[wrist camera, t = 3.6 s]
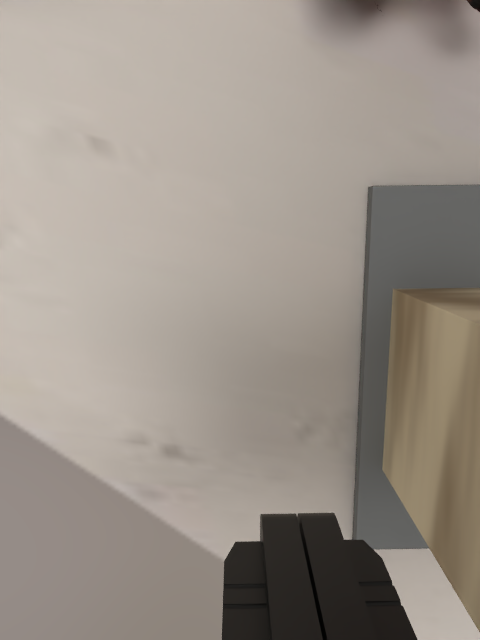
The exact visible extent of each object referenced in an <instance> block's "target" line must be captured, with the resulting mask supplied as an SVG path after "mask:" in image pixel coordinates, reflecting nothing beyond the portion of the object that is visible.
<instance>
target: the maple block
mask: <svg viewBox="0 0 480 640" xmlns="http://www.w3.org/2000/svg"><path fill="white" fill-rule="evenodd" d="M382 470H383V472H384V473H385V475H386V477H387V478H388V480H389V482H390V483H391V485H392V487H393V488H394V490H395V492H396V493H397V495H398V497H399V498H400V500H401V502H402V503H403V505H404V507H405V508H406V510H407V512H408V513H409V515H410V517H411V518H412V520H413V522H414V523H415V525H416V527H417V528H418V530H419V532H420V533H421V535H422V537H423V538H424V540H425V542H426V543H427V545H428V547H429V548H430V550H431V552H432V553H433V555H434V557H435V558H436V560H437V562H438V563H439V565H440V567H441V568H442V570H443V572H444V573H445V575H446V577H447V578H448V580H449V582H450V583H451V585H452V587H453V588H454V590H455V592H456V593H457V595H458V597H459V598H460V600H461V602H462V603H463V605H464V607H465V608H466V610H467V612H468V613H469V615H470V617H471V618H472V620H473V622H474V623H475V625H476V627H477V628H478V630H479V632H480V288H423V289H393V296H392V313H391V330H390V347H389V364H388V381H387V399H386V416H385V433H384V450H383V467H382Z"/></svg>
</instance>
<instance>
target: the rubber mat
mask: <svg viewBox="0 0 480 640" xmlns="http://www.w3.org/2000/svg"><path fill="white" fill-rule="evenodd" d="M423 288H480V185H415V186H371V187H368V209H367V231H366V254H365V276H364V298H363V320H362V343H361V365H360V387H359V409H358V432H357V454H356V476H355V498H354V521H353V540H364V541H365V542H366V543H367V544H368V545H369V546H370V547H371V548H372V549H422V548H429V547H428V545H427V543H426V542H425V540H424V538H423V537H422V535H421V533H420V532H419V530H418V528H417V527H416V525H415V523H414V522H413V520H412V518H411V517H410V515H409V513H408V512H407V510H406V508H405V507H404V505H403V503H402V502H401V500H400V498H399V497H398V495H397V493H396V492H395V490H394V488H393V487H392V485H391V483H390V482H389V480H388V478H387V477H386V475H385V473H384V472H383V470H382V467H383V450H384V433H385V416H386V399H387V381H388V364H389V347H390V330H391V313H392V296H393V289H423Z"/></svg>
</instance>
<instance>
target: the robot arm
mask: <svg viewBox="0 0 480 640" xmlns="http://www.w3.org/2000/svg"><path fill="white" fill-rule="evenodd" d="M222 640H417V637H416V635H415V633H414V631H413V628H412V626H411V624H410V621H409V619H408V617H407V615H406V612H405V610H404V608H403V606H401V602H400V599H399V596H398V594H397V592H396V589H395V587H394V586H393V585H392V580H391V578H390V576H389V573H388V571H387V569H386V567H385V564H384V562H383V560H382V558H381V557H380V556H379V555H378V554H377V553H376V552H375V551H374V550H373V549H372V548H371V547H370V546H369V545H368V544H367V543H366V542H365V541H364V540H344V539H343V536H342V533H341V530H340V527H339V524H338V521H337V518H336V516H335V514H334V513H298V516H297V515H296V514H261V516H260V541H257V542H235V544H234V546H233V547H232V549H231V551H230V552H229V554H228V556H227V558H226V559H225V561H224V591H223V623H222Z"/></svg>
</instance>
